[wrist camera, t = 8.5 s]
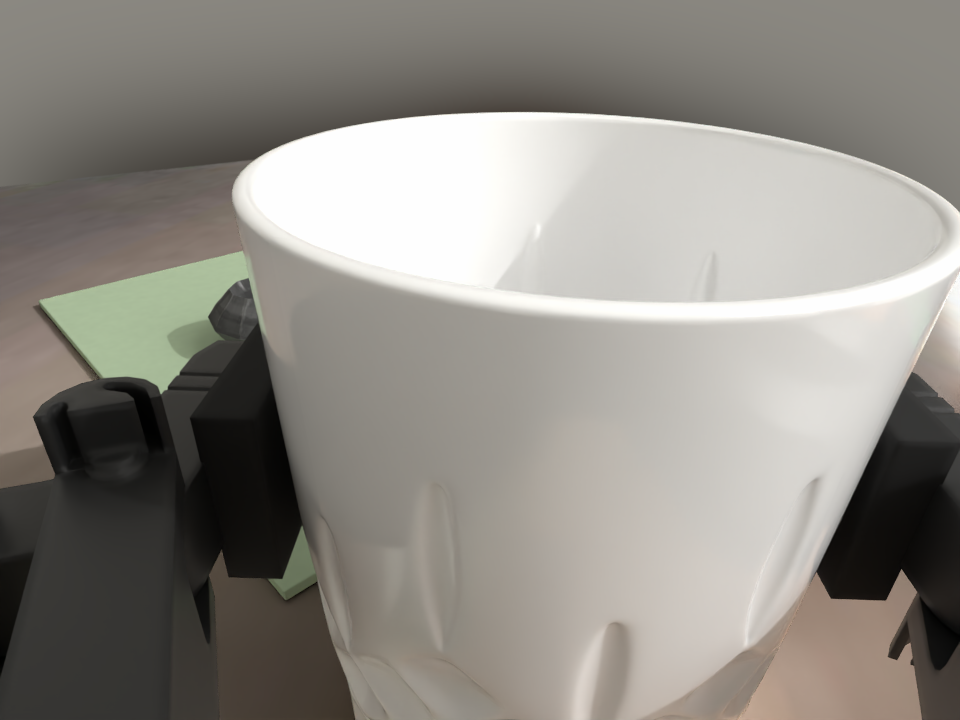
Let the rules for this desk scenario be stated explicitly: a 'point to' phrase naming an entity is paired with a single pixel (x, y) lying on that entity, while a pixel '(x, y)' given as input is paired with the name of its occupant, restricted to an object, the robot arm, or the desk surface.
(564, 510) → the white cup
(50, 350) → the desk surface
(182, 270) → the desk mat
